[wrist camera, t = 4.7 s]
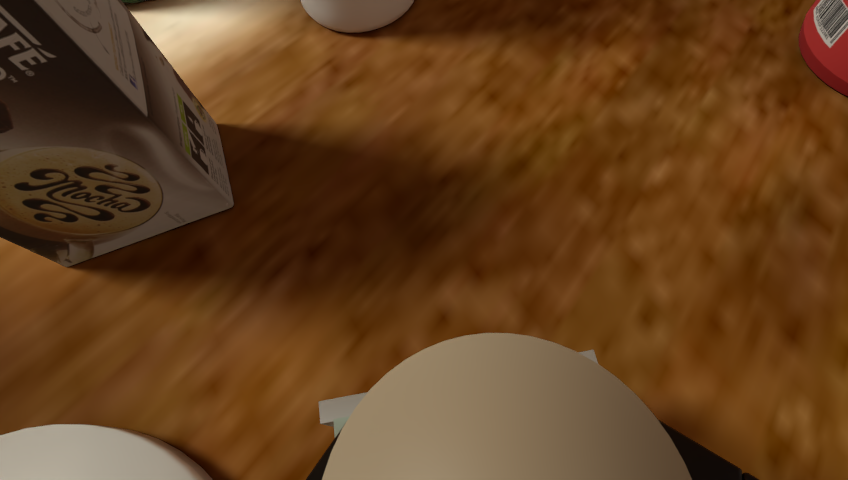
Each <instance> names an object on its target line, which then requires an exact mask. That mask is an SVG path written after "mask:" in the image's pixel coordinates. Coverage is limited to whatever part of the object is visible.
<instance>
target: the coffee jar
mask: <svg viewBox="0 0 848 480" xmlns="http://www.w3.org/2000/svg"><path fill="white" fill-rule="evenodd" d="M121 1H122V2H127V3H137V2H142V1H147V0H121Z"/></svg>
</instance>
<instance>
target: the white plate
mask: <svg viewBox="0 0 848 480" xmlns="http://www.w3.org/2000/svg"><path fill="white" fill-rule="evenodd" d="M0 480H213V479H212V478H211V477H210V476H209V475H208V474H207V473H206V471H205V470H204V469H203V468H202V467H201V466H199V465H198V464H197V463H196V462H194V461H193V460H192V459H190V458H189V457H188V456H187V455H185V454H184V453H183V452H181V451H180V450H178V449H176V448H175V447H173V446H171V445H169V444H167V443H165V442H163V441H161V440H160V439H158V438H155V437H152V436H149V435H146V434H143V433H140V432H137V431H134V430H128V429H121V428H115V427H109V426H96V425H79V424H54V425H47V426H39V427H32V428H25V429H22V430H18V431H14V432H11V433H7V434H4V435H0Z"/></svg>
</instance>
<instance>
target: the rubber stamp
mask: <svg viewBox="0 0 848 480" xmlns="http://www.w3.org/2000/svg"><path fill="white" fill-rule="evenodd" d="M319 412H320V424H324V425H328V426H333V427H334V434H335V437H336V436H337V435H338V433H339V432H340V430H341V429H342V430H341V432H340V435H339V437H338V439H337V441H336V443H335V445H334V447H333V449H332V451H331V454H330V457H329V460H328V463H327V466H326V469H325V472H324V475H323V478H322V480H692V478H691V476H690V474H689V471H688V469H687V467H686V465H685V462H684V461H683V459H682V457H681V455H680V454H679V452H678V450H677V448H676V447H675V445H674V443H673V441H672V439H671V438H670V436H669V435H668V433H667V432H666V431H665V429H664V428H663V427H662V425H661V424H660V422H659V421H658V420H657V418H656V417H655V415H654V414H653V413H652V412H651V411H650V410H649V409H648V407H647V406H646V405H645V404H644V403H643V402H642V401H641V400H640V399H639V397H638V396H637V395H636V394H635V393H634V392H633V391H631V390H630V389H629V388H628V387H627V386H626V385H625V384H624V383H622V382H621V381H620V380H619V379H618V378H617V377H616V376H614V375H613V374H611V373H610V372H609V371H607V370H606V369H604V368H603V367H601V366H600V365H599V364H598V362H597V359H596V356H595V353H594V350H589V351H584V352H579V353H578V352H576V351H574V350H571V349H569V348H566V347H564V346H561V345H559V344H556V343H554V342H551V341H547V340H543V339H539V338H536V337H532V336H526V335H518V334H511V333H482V334H474V335H466V336H462V337H458V338H454V339H450V340H446V341H443V342H440V343H438V344H436V345H433V346H431V347H428V348H426V349H423V350H422V351H420V352H418V353H416V354H415V355H413V356H411V357H409V358H407V359H406V360H404V361H403V362H401V363H400V364H399V365H397V366H396V367H395V368H393V369H392V370H391V371H389V372H388V373H387V374H386V375H385V376H384V377H383V378H382V379H381V380H379V381H378V382H377V383H376V384H375V385H374V386H373V387H372V388H371V389H370V390H369V392H367V393H361V394H356V395H351V396H346V397H340V398H335V399H330V400H324V401H319ZM345 423H346V424H345ZM343 426H344V427H343ZM342 427H343V428H342Z"/></svg>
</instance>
